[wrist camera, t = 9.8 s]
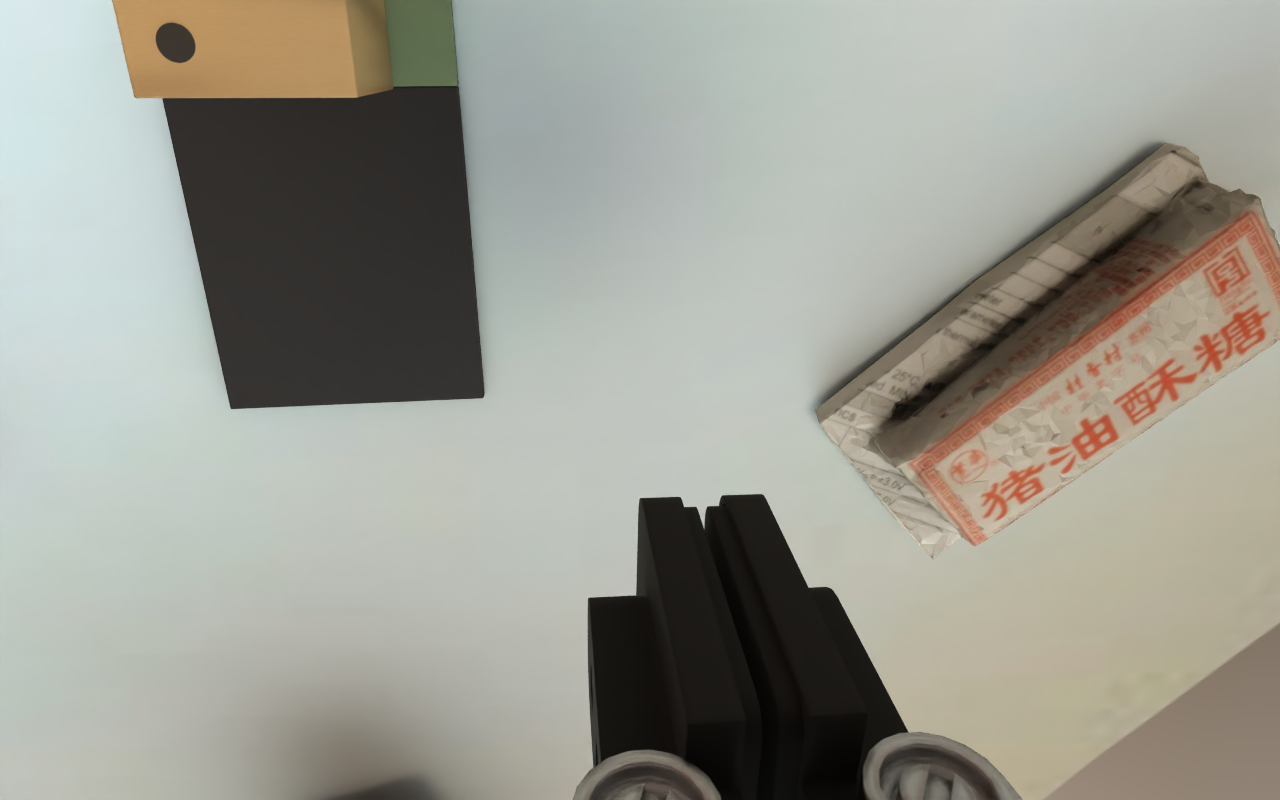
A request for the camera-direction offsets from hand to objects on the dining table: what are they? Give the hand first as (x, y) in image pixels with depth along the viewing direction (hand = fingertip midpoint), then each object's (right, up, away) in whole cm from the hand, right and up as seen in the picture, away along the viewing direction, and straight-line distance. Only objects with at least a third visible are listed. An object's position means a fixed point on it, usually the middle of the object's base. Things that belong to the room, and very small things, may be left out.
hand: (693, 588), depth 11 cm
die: (-12, +12, +14) cm, 22 cm away
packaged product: (+17, +4, +25) cm, 30 cm away
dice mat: (-12, +12, +18) cm, 25 cm away
